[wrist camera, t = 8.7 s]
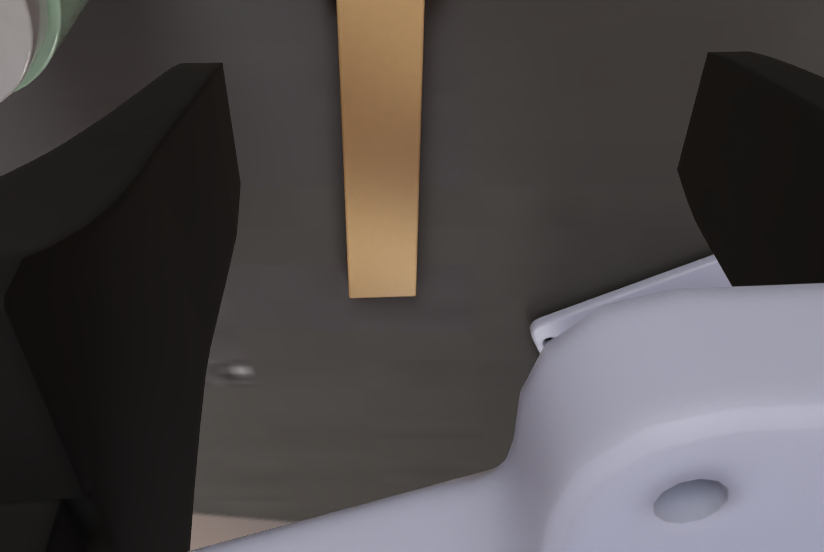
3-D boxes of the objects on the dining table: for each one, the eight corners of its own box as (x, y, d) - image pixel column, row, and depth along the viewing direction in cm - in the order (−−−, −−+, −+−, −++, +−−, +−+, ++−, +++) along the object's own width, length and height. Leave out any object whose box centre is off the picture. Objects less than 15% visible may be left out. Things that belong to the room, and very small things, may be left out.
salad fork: (455, 279, 27) (458, 295, 26) (306, 284, 26) (305, 300, 26) (506, -437, 15) (513, -439, 15) (242, -444, 15) (238, -447, 14)
